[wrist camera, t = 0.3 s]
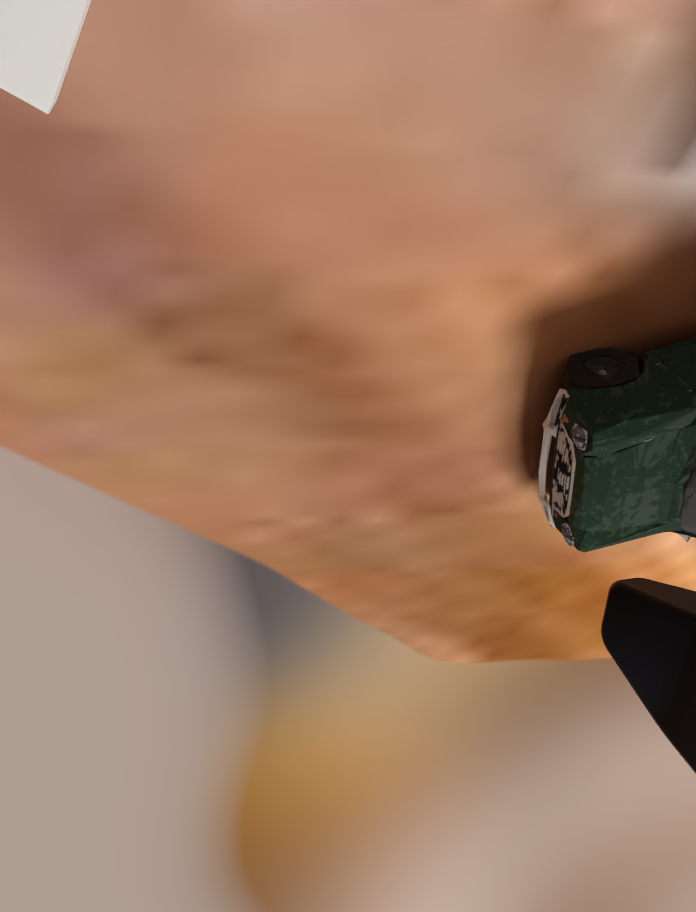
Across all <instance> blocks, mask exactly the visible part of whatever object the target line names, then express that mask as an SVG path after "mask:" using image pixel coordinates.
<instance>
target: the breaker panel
mask: <svg viewBox="0 0 696 912" xmlns="http://www.w3.org/2000/svg"><path fill="white" fill-rule="evenodd" d="M90 3H91V0H0V88H2V89H4V90H5V91H7V92H9V93H11V94H13V95H14V96H16V97H18V98H20V99H22V100H23V101H25V102H27V103H29V104H31V105H32V106H34V107H36V108H38V109H40V110H41V111H43V112H45V113H47V114H49V112H50V111H51V109H52V107H53V106H54V104H55V103H56V101H57V98H58V96H59V93H60V90H61V87H62V84H63V81H64V78H65V75H66V72H67V70H68V67H69V64H70V61H71V58H72V55H73V52H74V49H75V46H76V44H77V41H78V38H79V35H80V32H81V29H82V26H83V23H84V20H85V18H86V15H87V12H88V9H89V6H90Z"/></svg>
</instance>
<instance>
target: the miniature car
mask: <svg viewBox="0 0 696 912" xmlns="http://www.w3.org/2000/svg"><path fill="white" fill-rule="evenodd" d="M645 354H646V355H647V356H648V358H647V359H646V356H645V362H644V372H643V373H642V374H641V375H640V377H639V370H638V360H637V356H634V355H632V354H629V353H626V352H623V351H620V350H617V349H614V348H598V349H594V350H590V351H586V352H582V353H578V354H573V355H571V356H570V360H569V364H568V367H567V371H566V376H565V382H564V388H563V389H559V391H558V393H557V395H556V398H555V400H554V402H553V404H552V407H551V409H550V411H549V414H548V416H547V419H545V421H544V422H543V428H544V434H543V442H542V449H541V456H540V464H539V495H538V496H539V499H540V502H541V505H542V507H543V510H544V512H545V515H546V517H547V520H548V521H549V522H550V525H551V526H552V527H554V528H557V529H558V530H559V531H560V532H561V533H562V534H563V536H564V538H565V541H566V542H567V543H568V544H569V545H570V546H575V548H576V549H577V550H579V551H582V552H588V551H592V550H595V549H599V548H603V547H607V546H611V545H615V544H619V543H623V542H627V541H630V540H634V539H638V538H642V537H646V536H650V535H654V534H658V533H662V532H674V533H678V534H679V535H680V536H681V537H683V538H684V539H685V540H686V541H687V542H688V541H689V539H690V536H691V537H695V538H696V338H693V339H689V340H686V341H682V342H679V343H675V344H672V345H668V346H665V347H662V348H658V349H655V350H651V351H648V352H646V353H645ZM556 416H557V417H556ZM555 420H556V424H554V423H555ZM552 436H554V437H555V440H554V452H553V464H552V476H551V487H550V499H549V502H548V500H547V497H546V495H545V488H546V469H547V461H548V455H549V449H550V444H551V438H552Z"/></svg>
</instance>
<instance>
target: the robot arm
mask: <svg viewBox="0 0 696 912" xmlns="http://www.w3.org/2000/svg"><path fill="white" fill-rule="evenodd" d="M601 633H602V638H603V642H604V644H605V646H606V648H607V650H608V652H609V653H610V655H611V656H612V658H613V659H614V661H615V662H616V664H617V665H618V667H619V668H620V670H621V671H622V673H623V674H624V676H625V677H626V679H627V680H628V681H629V683H630V685H631V686H632V688H633V689H634V691H635V692H636V694H637V695H638V697H639V698H640V700H641V701H642V703H643V704H644V706H645V707H646V709H647V710H648V712H649V713H650V715H651V716H652V718H653V719H654V720H655V722H656V723H657V725H658V726H659V728H660V729H661V730H662V732H663V733H664V734H665V736H666V737H667V738H668V740H669V741H670V742H671V743H672V745H673V746H674V747H675V748H676V750H677V751H678V752H679V754H680V755H681V756H682V757H683V758H684V760H685V761H686V762H687V763H688V764H689V766H690V767H691V768H692V770H694V772H695V773H696V591H692V590H688V589H684V588H680V587H676V586H672V585H668V584H664V583H660V582H656V581H653V580H649V579H645V578H632V579H625V580H619V581H616V582H614V583H613V584H612V585H611V587H610V589H609V593H608V597H607V602H606V607H605V611H604V616H603V621H602V626H601Z"/></svg>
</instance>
